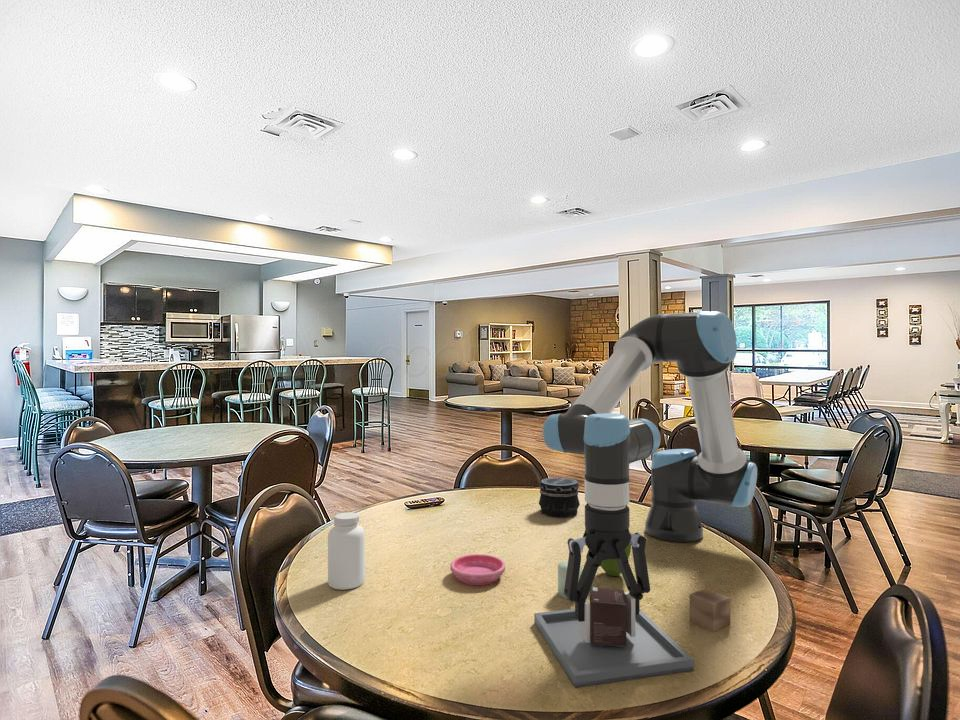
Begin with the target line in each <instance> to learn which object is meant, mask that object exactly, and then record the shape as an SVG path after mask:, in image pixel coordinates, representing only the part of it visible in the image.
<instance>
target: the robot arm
mask: <svg viewBox="0 0 960 720" xmlns="http://www.w3.org/2000/svg"><path fill="white" fill-rule="evenodd" d="M734 327H735V326H734V324H733V322H732V320H731V319H730V317H729V316H728V315H726V314H725V313H724V312H721V311H707V310H702V311H696V312H695V311H694V312H693V311H692V312H679V313H678V312H676V313H675V312H674V313H658V314H655V315H651V316H649V317H647V318H644V319H642V320H640V321H639V322H638V323H637V322H636V323H635V324H634V325H633V326H631V327H630V328H628V330H626V331H625V332H624V333H623V334H622V335H621V336H620V337H619V338H618V339H617V341H616V342H615V343H614V346H613V353H612V354H611V355H610V357H609V358H608V359H607V360H606V362H605V363H604V365H602V367H601V368H600V369H599V370H598V372H597V373H596V374H595V375H594V377H593V378H592V379H591V380H590V382H588V384H587V386H586V387H585V388H584V390H583V391H582V392H581V394H580V395H579V396H578V397H577V398H576V400H575V401H574V403H572V405H571V406H570V408H569V409H567V411H566V412H565V413H564V414H563V413H557V414H555V413H554V414H550V415H548V417H547V418H546V419H545V421H544V423H543V427H542V438H543V441H544V444H545V445H546V447H547V448H548V449H550V450H551V451H553V450H554V451H557V452H561V453H565V454H567V453H568V454H577V455H584V501H585V502H586V504H585V505H584V527H585V529H584V533H583V536H582V537H579V538H576V539H574V538H571V537H569V538H568V539H567V546H568V551H569V553H568V560H567V561H568V566H567V573H566V581H565V588H564V594H565V595H566V596H567V598H568V599H567V600H569V601H570V602H574V609H575V616H576V618H577V620H578V621H579V622H580V635H581V637H582V638H583V639H584V641H585V642H586V643H589V642H590V601H588V600H587V599H588V597H589V595H590V588H592V587H593V586H592V584H593V583H594V580H595V577H596V574H597V571H598V569H599V567H600V568H601V566H600V565H601V563H602V561H603V560H607V559H616V561H617V564H618V566H619V569H620V571H621V574H620V575H622V578H623V581H624V583H625V585H626V588H627V592H625V591H624V595H625V600H626V632H627V633H628V634H629V635H630V636H631V637H635V615H639V612H640V610H641V607H640V605H641V604H640V601H641V600H642V599H643V598H644V593H645V594H649V592H651V585H650V584H651V583H650V577H649V571H648V565H647V557H646V552H645V551H646V545H647V538H646V537H645V536H643V535H642V534H640V533H639V532H634V533H631V531H630V530H629V528H630V525H631V524H630V522H631V521H630V507H629V506H628V505H630V464H632V463H634V462H638V461H642V460H646V459H648V458H649V457H650V456H651V467H650V471H651V477H650V478H651V505H650V508H649V511H648V513H647V516H646V519H645V523H644V525H645V526H644V528H645V529H644V531H645V533H646V534H647V535H648V536H651V537H652V538H655V539H659V540H663V541H668V542H673V543H674V542H675V543H676V542H677V543H689V542H697V541H699V540H702V539H703V538H704V537H703V536H704V528H703V525H702V522H701V518H700V516H699V511H698V509H697V501H701V502H707V503H711V504H712V503H713V504H715V505H716V504H717V505H723V506H728V507H731V508H732V507H737V508H747V507H749V505H751V502H752V501H753V498H754V495H755V492H756V491H755V490H756V486H757V480H758V466H757V464H756V463H755V462H752V461H748V460H747V454H746V453H745V452H744V451H743V449H741V448H739V446H738V440H737V435H736V429H735V424H734V418H733V411H732V405H731V400H730V393H729V389H728V381H727V376H726V371H727V370H729V367H730V366H731V362H733V361H734V360H735V358H736V355H737V351H738V347H737V345H738V344H737V336H736V330H735V328H734ZM663 362H665V363H676V366H677V371H678V373H679V374H680V375H681V376H684V377H685V378H686V380H687V386H688V390H689V391H688V392H689V395H690V400H691V406H692V411H693V416H694V420H695V425H696V431H697V434H698V439H699V445H700V450H701V452H700V453H699V454H698V455H697V452H696V450H695V449H691V448H675V449H674V448H672V449H670V448H669V449H666V450H665V449H663V450H659V447H660V446H661V433H660V431H659V428H658V427H657V426H656V424H655V423H654V422H652V421H651V420H649V419H646V418H634V417H633V418H630V419H629V418H628V417H627V416H626V415H624V414H620V413H613V411H614V410H615V408H617V406H618V404H619V403H620V401H621V399H623V397H624V396H625V395H626V393H627V391H628V390H629V388H630V387H631V386H632V384H633V383H634V381H635V380H636V378H637V377H638V376H639V374H640V373H641V372H643V371H645V370H647V369H649V367H651V365H652V364H655V363H663ZM658 450H659V451H658ZM629 542H630V544H631V551H632V559H633V564H634V565H633V566H634V571H635V572H633V571H632V568H631V565H630V562H629V558H627V555H626V553H625V549H626V547H627V546H628V544H629ZM585 546H586V547H587V548H588V550H587V554H586V555H585V556H586V557H585V558H586V560H585V563H584V565H583V567H582V573H581V576H580V579H579V581H578V578H579V571H580V564H581V562H582V553H583V552H584V547H585ZM581 565H582V564H581ZM634 573H635V575H634Z"/></svg>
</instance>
